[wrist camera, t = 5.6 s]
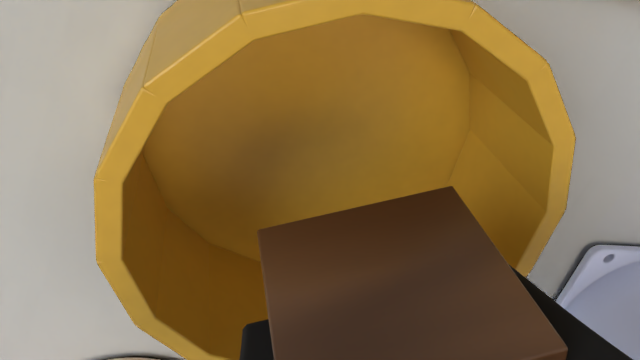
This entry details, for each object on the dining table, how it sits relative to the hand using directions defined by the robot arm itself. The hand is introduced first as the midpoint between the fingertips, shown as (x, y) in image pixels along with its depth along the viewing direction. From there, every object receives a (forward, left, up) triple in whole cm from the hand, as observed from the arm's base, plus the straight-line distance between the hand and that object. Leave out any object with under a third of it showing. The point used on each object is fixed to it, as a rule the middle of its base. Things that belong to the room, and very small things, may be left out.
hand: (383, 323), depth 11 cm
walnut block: (0, 0, -1) cm, 1 cm away
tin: (0, 0, -8) cm, 8 cm away
